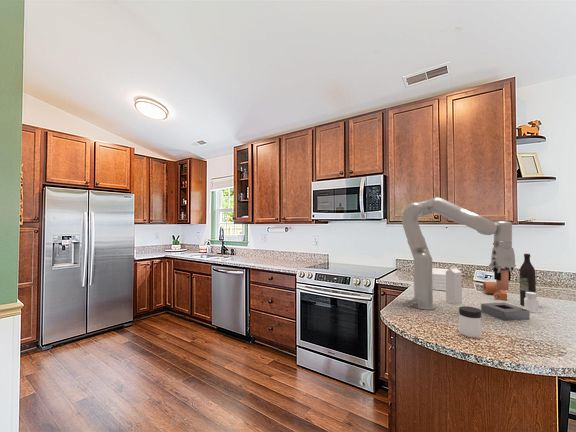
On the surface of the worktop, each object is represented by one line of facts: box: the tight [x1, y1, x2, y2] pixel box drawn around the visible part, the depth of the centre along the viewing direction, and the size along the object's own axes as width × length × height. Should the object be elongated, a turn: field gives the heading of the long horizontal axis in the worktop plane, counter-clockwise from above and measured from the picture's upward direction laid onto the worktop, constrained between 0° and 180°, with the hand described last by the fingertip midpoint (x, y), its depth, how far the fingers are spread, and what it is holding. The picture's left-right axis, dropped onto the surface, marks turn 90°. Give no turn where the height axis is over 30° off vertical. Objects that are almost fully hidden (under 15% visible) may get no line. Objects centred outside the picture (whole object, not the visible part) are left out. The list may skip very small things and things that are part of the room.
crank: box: [482, 280, 508, 301], centre depth 186 cm, size 20×8×8 cm, turn 158°
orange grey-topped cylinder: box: [495, 267, 510, 291], centre depth 145 cm, size 5×5×11 cm
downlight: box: [523, 292, 541, 314], centre depth 153 cm, size 8×7×10 cm
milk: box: [445, 265, 463, 305], centre depth 170 cm, size 6×6×22 cm
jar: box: [458, 305, 483, 339], centre depth 120 cm, size 9×8×12 cm
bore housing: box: [480, 302, 531, 322], centre depth 145 cm, size 14×14×5 cm
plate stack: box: [432, 267, 450, 292], centre depth 214 cm, size 28×28×12 cm
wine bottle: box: [519, 253, 537, 306], centre depth 164 cm, size 7×7×30 cm
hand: (502, 279), depth 145 cm, fingers closed on orange grey-topped cylinder, 5 cm apart
